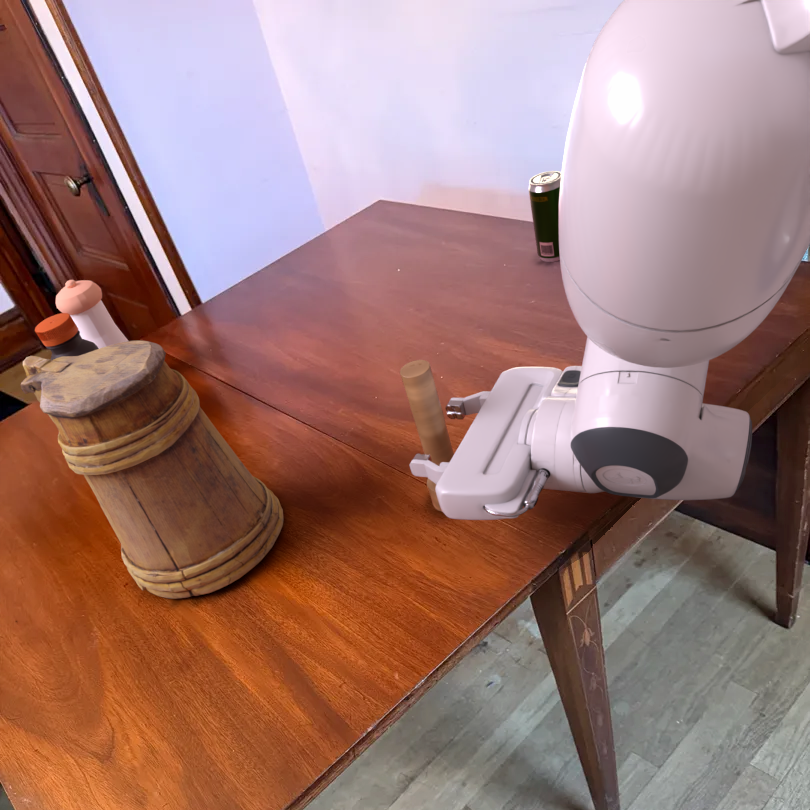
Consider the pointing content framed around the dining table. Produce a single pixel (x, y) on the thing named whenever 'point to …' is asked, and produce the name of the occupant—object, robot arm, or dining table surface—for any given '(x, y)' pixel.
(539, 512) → the dining table surface
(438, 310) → the dining table surface
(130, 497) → the tankard
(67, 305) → the pepper shaker
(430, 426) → the wooden pestle
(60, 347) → the bottle
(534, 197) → the beer can
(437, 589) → the dining table surface
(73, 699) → the dining table surface
